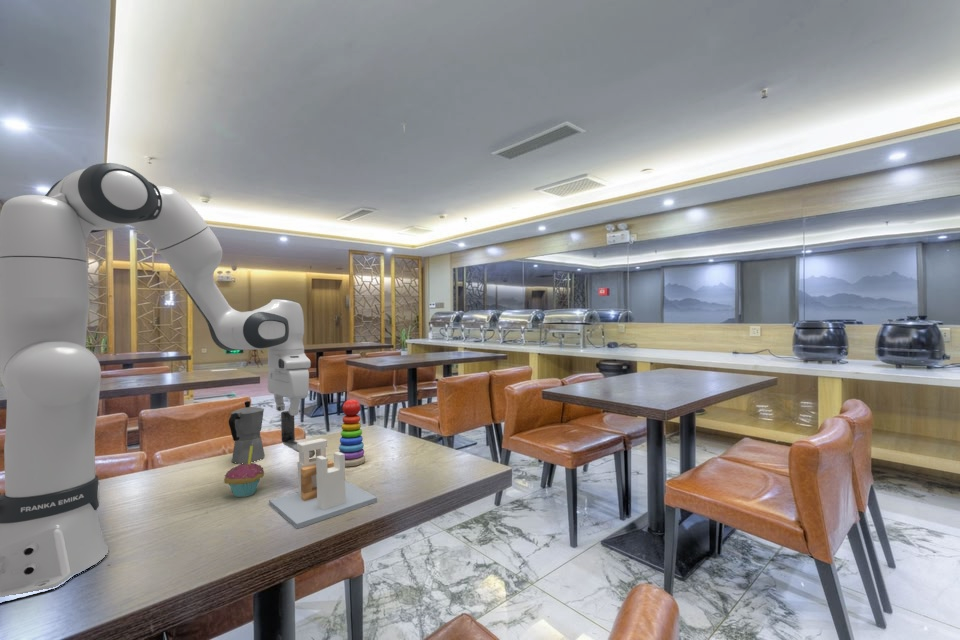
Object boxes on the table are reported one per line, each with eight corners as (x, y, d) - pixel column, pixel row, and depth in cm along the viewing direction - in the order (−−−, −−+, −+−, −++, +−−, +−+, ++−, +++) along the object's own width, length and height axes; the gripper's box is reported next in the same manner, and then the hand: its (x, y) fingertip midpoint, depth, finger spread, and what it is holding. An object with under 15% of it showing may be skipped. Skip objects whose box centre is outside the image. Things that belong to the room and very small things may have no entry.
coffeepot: (246, 453, 140) (245, 397, 140) (274, 452, 139) (273, 397, 140) (215, 469, 124) (213, 407, 125) (246, 468, 124) (245, 406, 124)
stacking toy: (357, 468, 122) (355, 402, 122) (331, 467, 124) (330, 401, 124) (370, 459, 130) (368, 397, 130) (345, 458, 131) (344, 397, 132)
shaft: (304, 459, 102) (303, 421, 102) (279, 446, 114) (279, 412, 114) (317, 456, 104) (316, 419, 104) (292, 443, 116) (291, 410, 116)
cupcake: (253, 484, 111) (252, 438, 111) (271, 491, 106) (270, 442, 106) (218, 495, 104) (217, 446, 104) (235, 503, 99) (234, 451, 99)
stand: (297, 528, 86) (295, 463, 86) (269, 504, 98) (267, 447, 98) (377, 501, 98) (375, 444, 98) (343, 483, 111) (342, 432, 111)
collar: (304, 501, 97) (303, 470, 97) (301, 498, 99) (300, 468, 99) (334, 492, 102) (333, 462, 102) (330, 490, 103) (329, 460, 104)
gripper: (261, 359, 120) (261, 409, 119) (287, 362, 105) (288, 419, 104) (284, 358, 124) (285, 406, 124) (313, 361, 109) (313, 416, 109)
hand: (286, 412), depth 114 cm, fingers open, 8 cm apart
